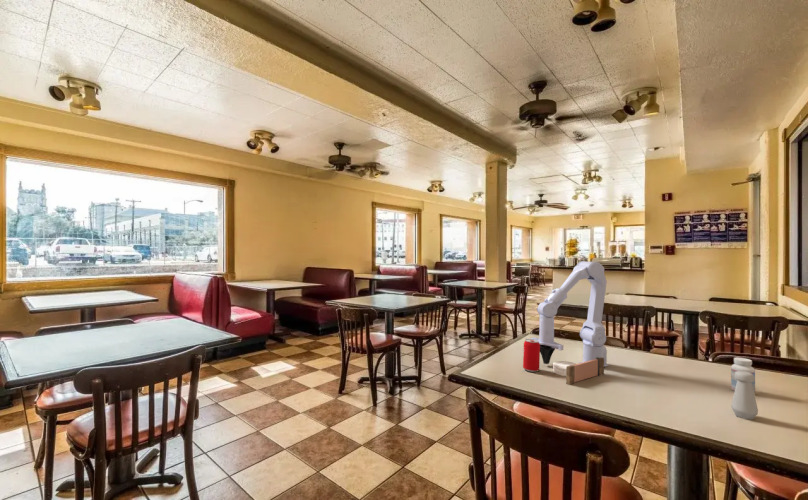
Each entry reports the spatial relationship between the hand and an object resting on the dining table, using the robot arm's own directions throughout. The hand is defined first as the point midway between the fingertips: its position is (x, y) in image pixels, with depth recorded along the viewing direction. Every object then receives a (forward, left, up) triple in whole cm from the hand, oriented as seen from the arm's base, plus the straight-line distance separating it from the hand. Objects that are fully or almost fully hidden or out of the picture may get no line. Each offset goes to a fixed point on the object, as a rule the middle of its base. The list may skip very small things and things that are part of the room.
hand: (546, 363), depth 150 cm
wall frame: (0, +17, -1) cm, 17 cm away
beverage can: (+10, 0, -1) cm, 10 cm away
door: (0, +17, -1) cm, 17 cm away
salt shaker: (-11, +59, -1) cm, 60 cm away
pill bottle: (-36, +52, -1) cm, 63 cm away
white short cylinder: (0, +9, -2) cm, 9 cm away
